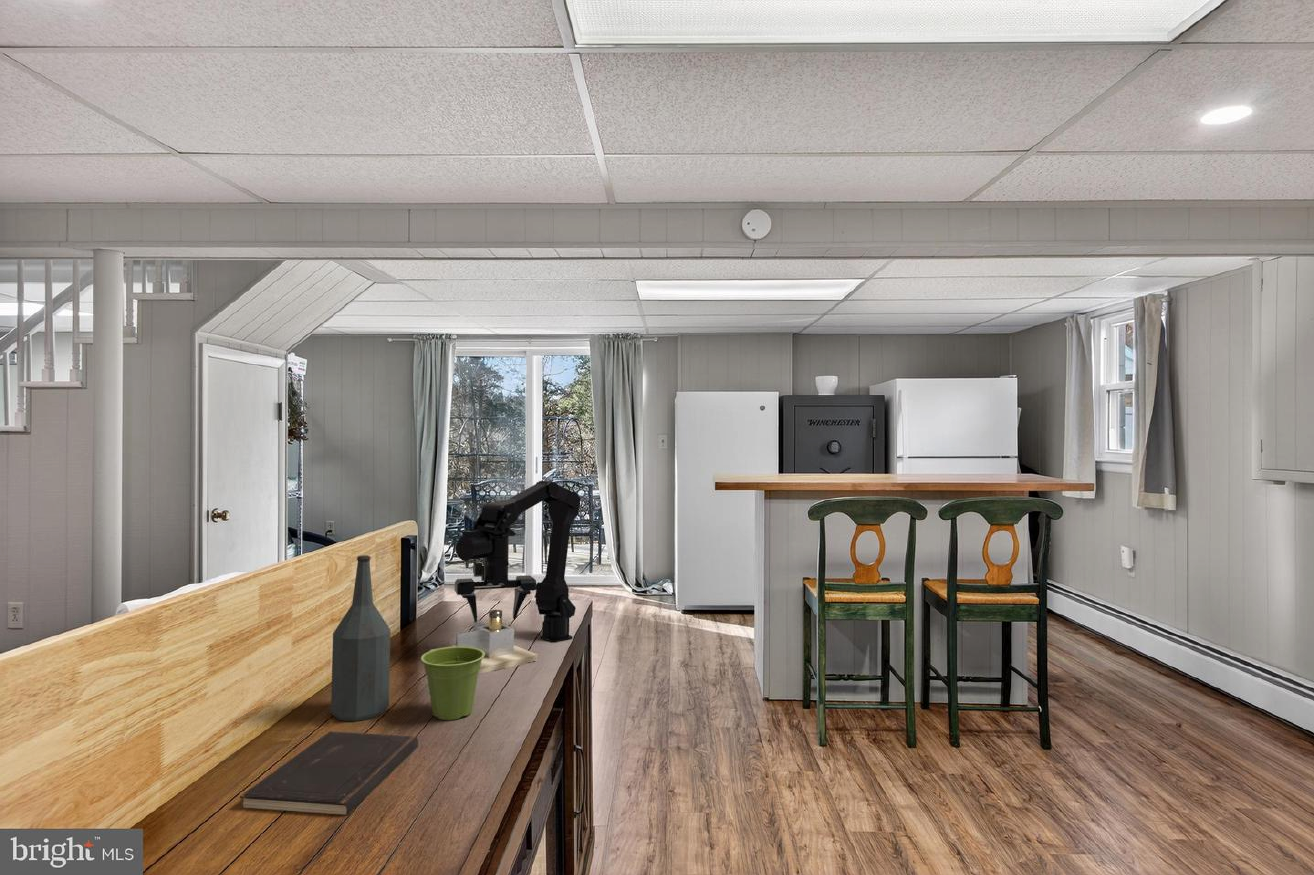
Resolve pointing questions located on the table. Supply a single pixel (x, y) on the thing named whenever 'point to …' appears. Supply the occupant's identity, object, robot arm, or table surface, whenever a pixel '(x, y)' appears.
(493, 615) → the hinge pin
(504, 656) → the beige panel with ridges
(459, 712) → the plant pot
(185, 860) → the table surface
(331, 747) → the hardcover book
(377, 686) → the bottle
